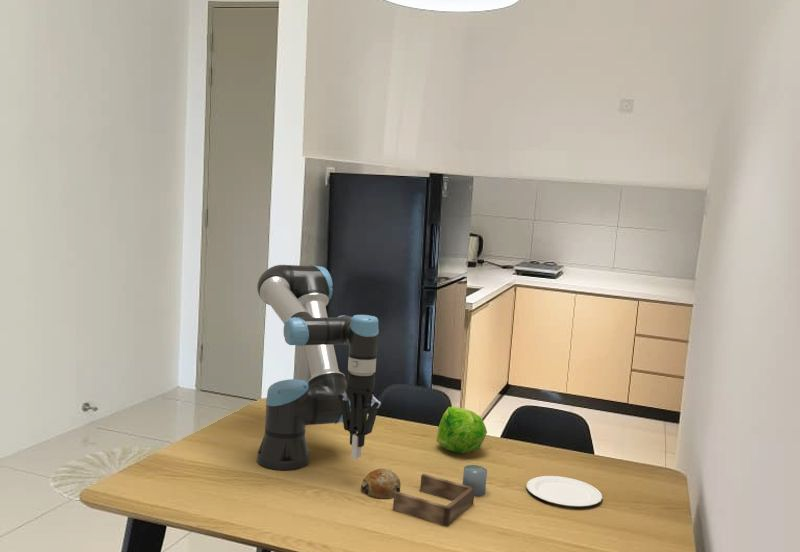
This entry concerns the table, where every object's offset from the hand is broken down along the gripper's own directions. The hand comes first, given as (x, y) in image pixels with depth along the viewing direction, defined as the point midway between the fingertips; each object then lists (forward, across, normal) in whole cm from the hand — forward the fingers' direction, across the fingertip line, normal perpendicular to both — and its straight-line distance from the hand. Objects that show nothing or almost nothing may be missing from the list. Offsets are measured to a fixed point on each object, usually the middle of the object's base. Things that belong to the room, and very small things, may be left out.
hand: (356, 457), depth 196 cm
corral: (+8, +24, 0) cm, 25 cm away
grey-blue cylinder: (+8, +29, +16) cm, 34 cm away
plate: (+8, +50, +31) cm, 59 cm away
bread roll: (+8, +8, 0) cm, 11 cm away
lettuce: (+8, +12, +45) cm, 47 cm away
